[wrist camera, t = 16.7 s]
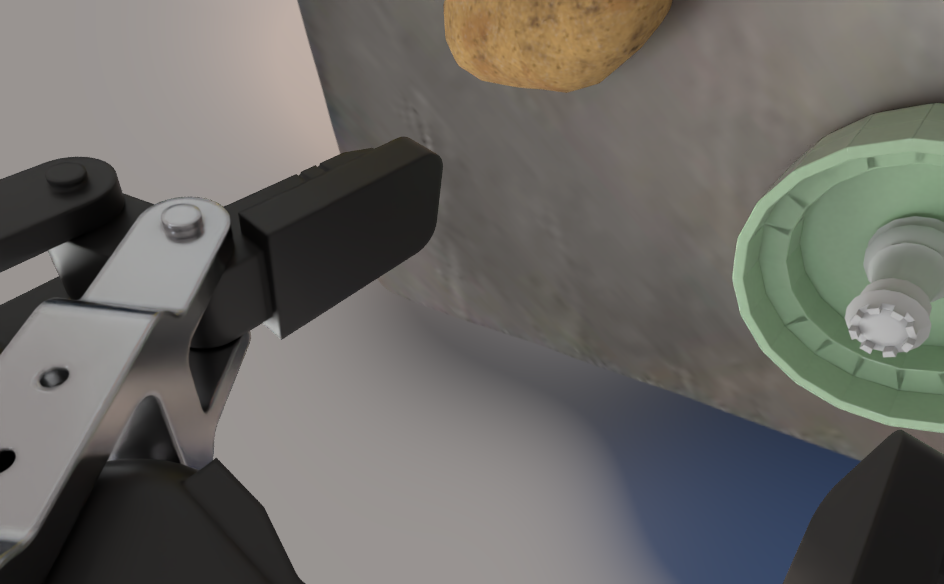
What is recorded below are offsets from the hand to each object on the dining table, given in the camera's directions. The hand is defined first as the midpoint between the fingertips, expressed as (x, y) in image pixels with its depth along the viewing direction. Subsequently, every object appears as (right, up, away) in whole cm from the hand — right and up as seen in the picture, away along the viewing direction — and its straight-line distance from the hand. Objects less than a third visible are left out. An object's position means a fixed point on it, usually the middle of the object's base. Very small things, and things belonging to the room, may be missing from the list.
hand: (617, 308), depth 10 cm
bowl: (+21, +3, +22) cm, 31 cm away
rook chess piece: (+21, +2, +22) cm, 30 cm away
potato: (+5, +18, +27) cm, 33 cm away
